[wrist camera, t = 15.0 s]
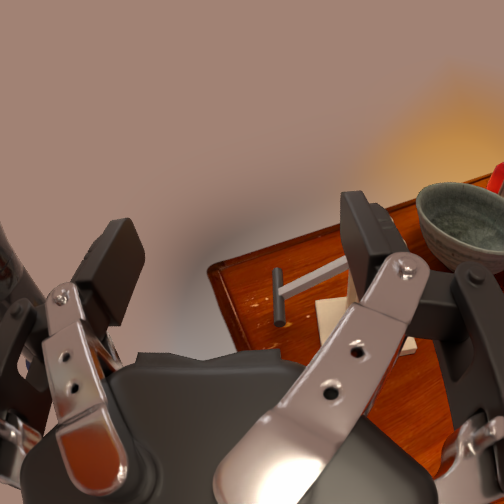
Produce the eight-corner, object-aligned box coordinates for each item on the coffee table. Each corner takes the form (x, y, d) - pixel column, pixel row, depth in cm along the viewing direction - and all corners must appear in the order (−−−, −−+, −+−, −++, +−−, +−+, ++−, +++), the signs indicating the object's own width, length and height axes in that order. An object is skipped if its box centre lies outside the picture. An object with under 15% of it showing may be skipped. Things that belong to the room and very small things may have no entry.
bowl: (434, 315, 38) (454, 261, 31) (392, 228, 54) (397, 180, 48) (530, 292, 35) (552, 245, 29) (478, 220, 51) (488, 177, 45)
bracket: (323, 367, 35) (327, 274, 26) (315, 306, 43) (312, 210, 33) (414, 353, 34) (451, 258, 24) (395, 296, 42) (413, 201, 32)
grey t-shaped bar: (281, 331, 32) (268, 320, 31) (278, 278, 39) (267, 267, 37) (404, 274, 27) (397, 258, 26) (381, 225, 33) (373, 210, 32)
